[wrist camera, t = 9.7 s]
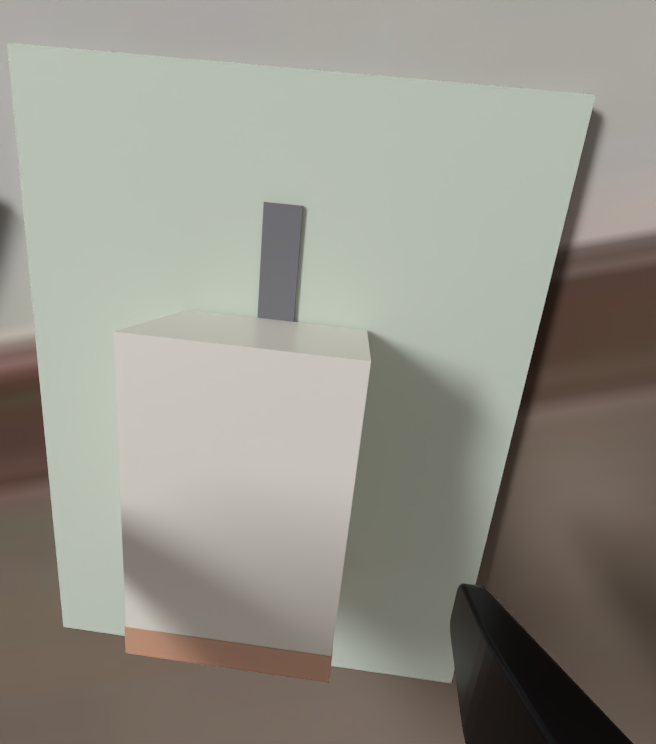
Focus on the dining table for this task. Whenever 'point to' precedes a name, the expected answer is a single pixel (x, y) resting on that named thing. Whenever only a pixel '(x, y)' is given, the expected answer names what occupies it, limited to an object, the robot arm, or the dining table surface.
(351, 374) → the block
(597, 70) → the dining table surface
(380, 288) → the mat
